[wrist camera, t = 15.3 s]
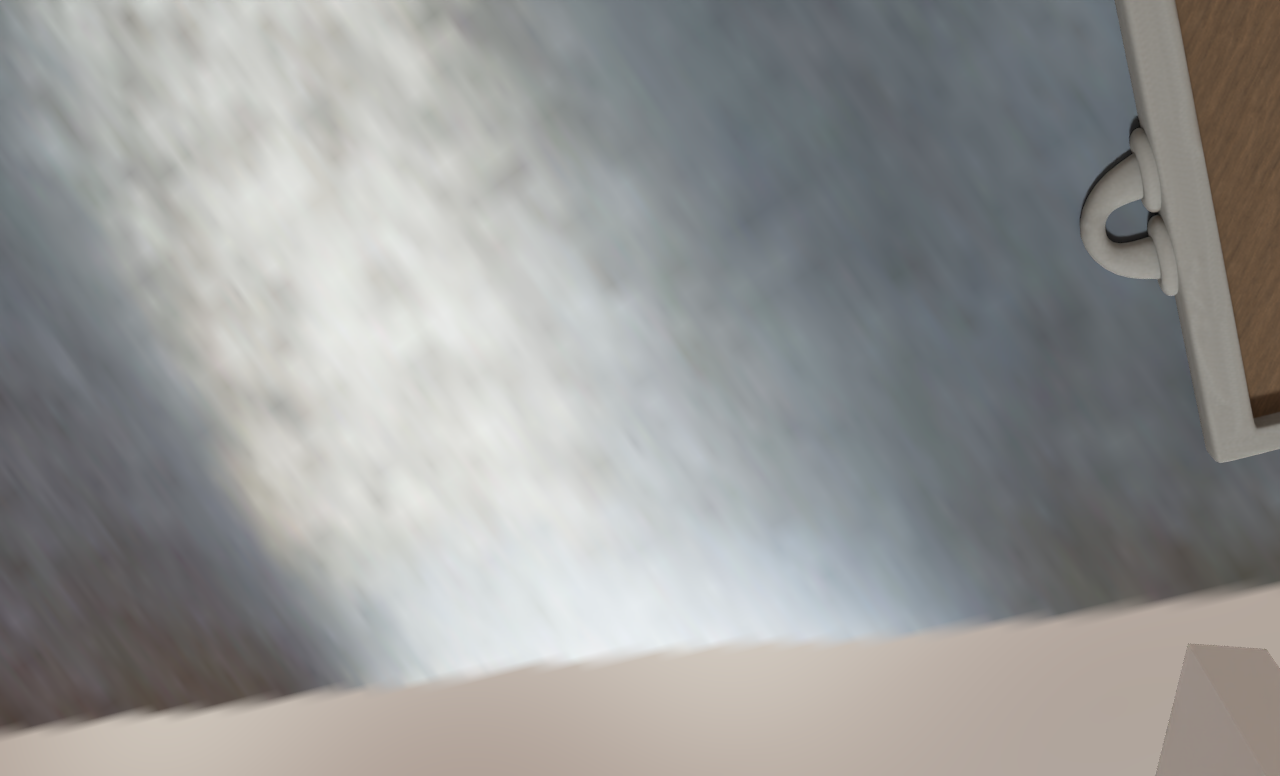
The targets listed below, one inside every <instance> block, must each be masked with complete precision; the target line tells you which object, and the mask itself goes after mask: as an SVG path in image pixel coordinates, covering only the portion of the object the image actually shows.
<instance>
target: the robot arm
mask: <svg viewBox="0 0 1280 776" xmlns="http://www.w3.org/2000/svg"><path fill="white" fill-rule="evenodd" d="M1155 776H1280V668H1279V667H1278V665H1277V664H1276V663H1275V661H1274V660H1273V658H1272V657H1271V655H1270V654H1269V652H1268V651H1267V650H1266V649H1257V648H1242V647H1229V646H1215V645H1201V644H1200V645H1199V644H1188V646H1187V650H1186V654H1185V658H1184V662H1183V667H1182V671H1181V675H1180V678H1179V682H1178V686H1177V690H1176V695H1175V699H1174V703H1173V707H1172V711H1171V715H1170V719H1169V723H1168V727H1167V731H1166V735H1165V739H1164V743H1163V747H1162V751H1161V755H1160V759H1159V763H1158V768H1157V771H1156V775H1155Z"/></svg>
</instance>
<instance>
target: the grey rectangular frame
mask: <svg viewBox="0 0 1280 776" xmlns="http://www.w3.org/2000/svg"><path fill="white" fill-rule="evenodd" d="M1115 5H1116V10H1117V14H1118V19H1119V24H1120V29H1121V34H1122V39H1123V44H1124V49H1125V54H1126V59H1127V64H1128V68H1129V73H1130V78H1131V83H1132V88H1133V93H1134V98H1135V103H1136V108H1137V113H1138V118H1139V122H1140V127H1141V128H1137V129H1135V130H1134V131H1133V132H1132V134H1131V136H1130V149H1131V152H1132V154H1131V155H1130V156H1129V157H1127V158H1126V159H1124V160H1123V161H1121V162H1120V163H1118V164H1117V165H1116V166H1115V167H1113V168H1112V169H1111V170H1110V171H1109V172H1107V173H1106V174H1105V175H1104V176H1103V177H1102V178H1101V180H1100V181H1099V182H1098V183H1097V184H1096V185H1095V187H1094V188H1093V190H1092V191H1091V193H1090V194H1089V196H1088V198H1087V200H1086V202H1085V205H1084V207H1083V210H1082V215H1081V220H1080V232H1081V238H1082V241H1083V243H1084V246H1085V248H1086V250H1087V251H1088V253H1089V254H1090V255H1091V257H1092V258H1093V259H1094V260H1095V261H1096V262H1097V263H1099V264H1100V265H1101V266H1102V267H1103V268H1105V269H1107V270H1109V271H1111V272H1113V273H1115V274H1117V275H1121V276H1125V277H1129V278H1138V279H1158V283H1159V286H1160V288H1161V289H1162V291H1163V292H1164V293H1165V294H1167V295H1169V296H1174V295H1175V299H1176V304H1177V309H1178V314H1179V319H1180V324H1181V329H1182V333H1183V338H1184V343H1185V348H1186V353H1187V358H1188V363H1189V368H1190V373H1191V378H1192V383H1193V387H1194V392H1195V397H1196V402H1197V407H1198V412H1199V417H1200V422H1201V427H1202V432H1203V436H1204V441H1205V446H1206V449H1207V452H1208V453H1209V454H1210V455H1211V456H1212V458H1213V459H1214V460H1215V461H1217V462H1219V463H1223V462H1228V461H1233V460H1237V459H1241V458H1245V457H1249V456H1253V455H1257V454H1261V453H1265V452H1269V451H1273V450H1277V449H1280V0H1115ZM1139 199H1141V201H1142V203H1143V205H1144V206H1145V208H1146V209H1147V210H1148V211H1150V212H1158V215H1155V216H1153V217H1152V218H1151V219H1150V220H1149V222H1148V227H1147V230H1148V235H1149V237H1146V238H1143V239H1139V240H1136V241H1132V242H1127V243H1115V242H1112V241H1111V240H1109V238H1108V237H1107V235H1106V230H1105V224H1106V220H1107V218H1108V216H1109V214H1110V213H1112V212H1113V211H1114V210H1115V209H1117V208H1119V207H1120V206H1122V205H1125V204H1127V203H1130V202H1132V201H1136V200H1139Z"/></svg>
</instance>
